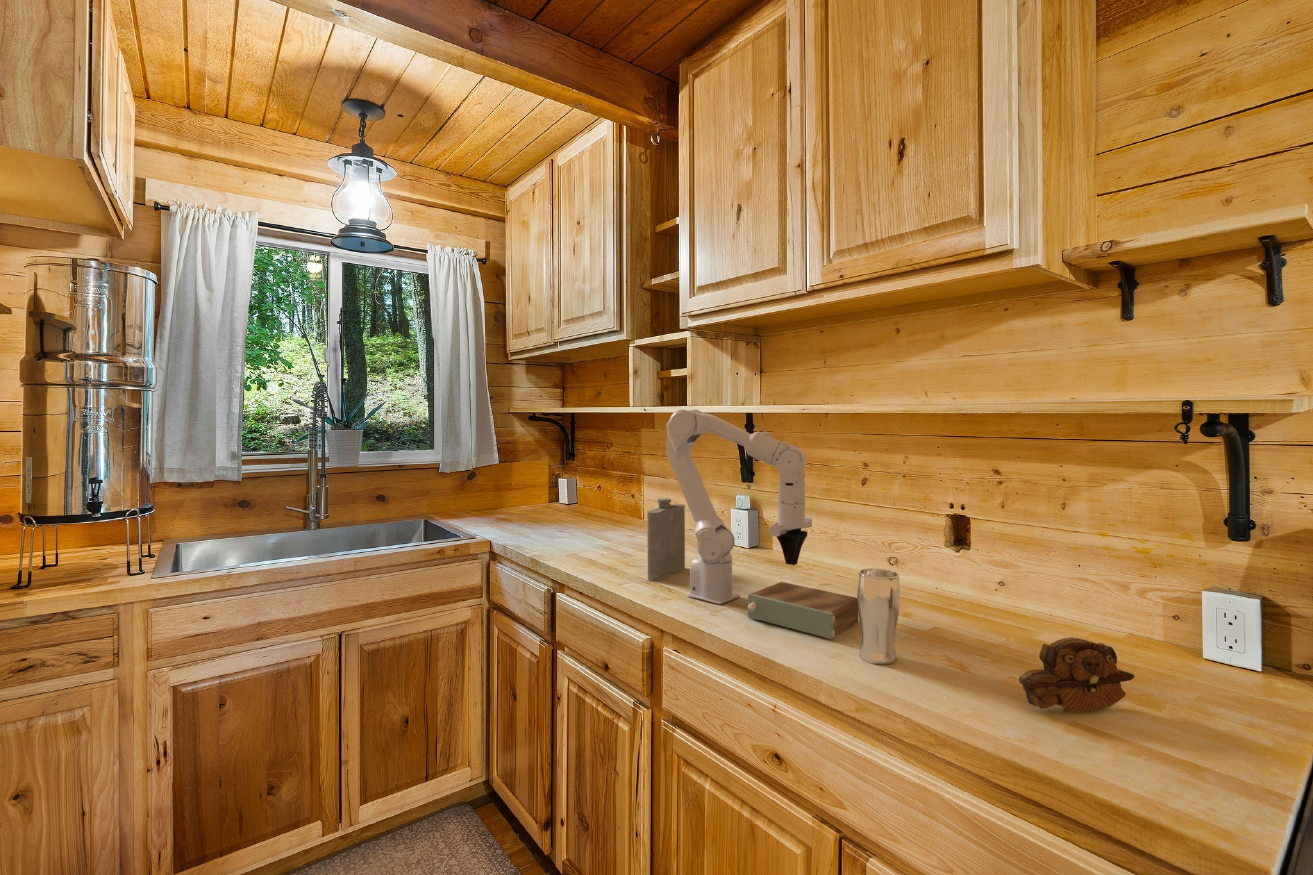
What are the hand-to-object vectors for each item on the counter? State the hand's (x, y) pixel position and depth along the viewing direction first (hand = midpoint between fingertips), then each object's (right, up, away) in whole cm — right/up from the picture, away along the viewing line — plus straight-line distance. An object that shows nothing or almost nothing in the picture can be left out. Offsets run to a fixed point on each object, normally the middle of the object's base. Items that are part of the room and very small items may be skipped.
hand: (791, 564), depth 137 cm
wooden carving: (+31, -12, -47) cm, 58 cm away
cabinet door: (-4, -10, -14) cm, 18 cm away
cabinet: (+1, -10, -8) cm, 13 cm away
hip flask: (-27, -9, +28) cm, 40 cm away
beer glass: (+9, -11, -28) cm, 32 cm away
